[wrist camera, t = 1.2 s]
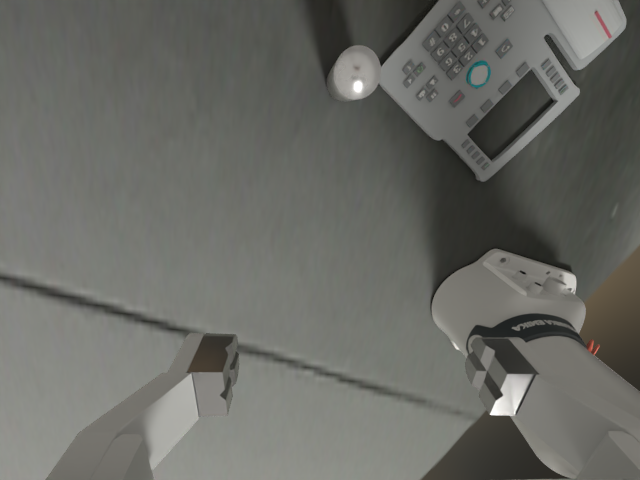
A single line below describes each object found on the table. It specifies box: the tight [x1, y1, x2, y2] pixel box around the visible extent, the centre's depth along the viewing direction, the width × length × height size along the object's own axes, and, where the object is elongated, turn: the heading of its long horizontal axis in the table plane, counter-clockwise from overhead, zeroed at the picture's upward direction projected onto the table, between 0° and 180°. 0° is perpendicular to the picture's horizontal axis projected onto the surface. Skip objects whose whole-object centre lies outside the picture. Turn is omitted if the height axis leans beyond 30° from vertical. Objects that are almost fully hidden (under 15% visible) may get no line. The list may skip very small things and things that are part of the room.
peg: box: [326, 45, 381, 102], centre depth 30 cm, size 4×4×10 cm
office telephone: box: [378, 0, 626, 182], centre depth 33 cm, size 23×3×20 cm
